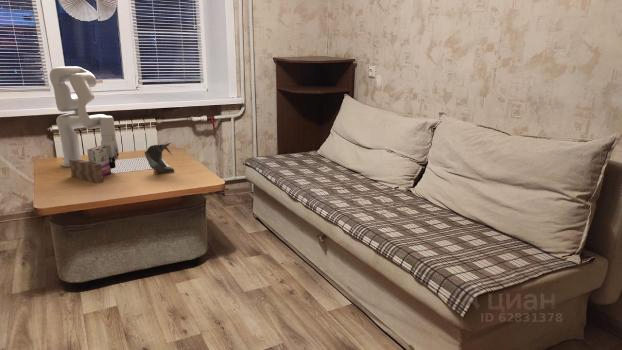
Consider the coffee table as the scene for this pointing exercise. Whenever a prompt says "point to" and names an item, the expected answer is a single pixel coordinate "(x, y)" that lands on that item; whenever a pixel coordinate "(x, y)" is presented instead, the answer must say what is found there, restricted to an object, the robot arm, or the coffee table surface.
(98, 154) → the candy bar box
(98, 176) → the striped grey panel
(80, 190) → the coffee table surface
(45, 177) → the coffee table surface
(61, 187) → the coffee table surface
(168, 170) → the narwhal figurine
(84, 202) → the coffee table surface
